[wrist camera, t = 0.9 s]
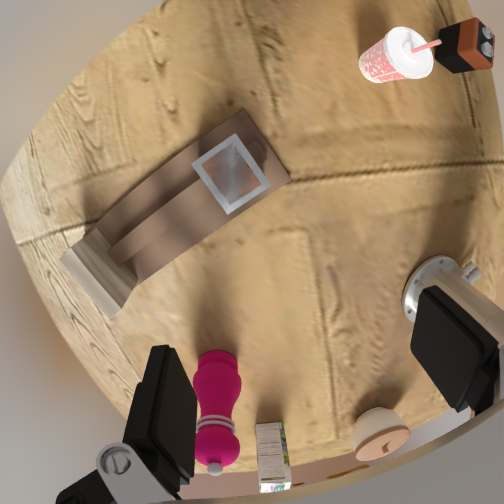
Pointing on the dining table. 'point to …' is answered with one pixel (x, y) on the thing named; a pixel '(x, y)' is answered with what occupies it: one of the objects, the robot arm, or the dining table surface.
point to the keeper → (231, 173)
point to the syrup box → (272, 457)
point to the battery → (466, 46)
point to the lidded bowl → (378, 433)
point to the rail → (162, 218)
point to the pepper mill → (216, 410)
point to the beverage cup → (398, 57)
